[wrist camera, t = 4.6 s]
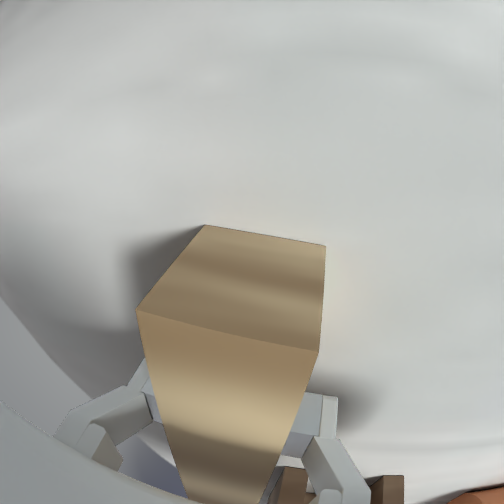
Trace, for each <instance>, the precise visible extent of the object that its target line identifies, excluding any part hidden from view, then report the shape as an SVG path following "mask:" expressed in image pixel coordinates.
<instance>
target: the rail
mask: <svg viewBox="0 0 504 504" xmlns="http://www.w3.org/2000/svg"><path fill="white" fill-rule="evenodd" d="M325 256H326V246H323V245H317V244H312V243H306V242H301V241H295V240H290V239H284V238H278V237H273V236H267V235H262V234H256V233H250V232H244V231H239V230H233V229H227V228H221V227H215V226H209V225H204V226H203V228H202V229H201V230H200V231H199V232H198V233H197V235H196V236H195V237H194V238H193V239H192V241H191V242H190V243H189V244H188V245H187V246H186V248H185V249H184V250H183V251H182V252H181V254H180V255H179V256H178V257H177V258H176V260H175V261H174V262H173V263H172V264H171V266H170V267H169V268H168V269H167V270H166V272H165V273H164V274H163V275H162V277H161V278H160V279H159V280H158V281H157V283H156V284H155V285H154V286H153V288H152V289H151V290H150V291H149V293H148V294H147V295H146V296H145V298H144V299H143V300H142V301H141V303H140V304H139V305H138V306H137V308H136V309H135V310H136V315H137V321H138V326H139V331H140V336H141V340H142V345H143V350H144V354H145V359H146V363H147V367H148V371H149V375H150V379H151V383H152V387H153V391H154V395H155V399H156V402H157V406H158V409H159V413H160V416H161V420H162V423H163V427H164V430H165V433H166V436H167V440H168V443H169V446H170V449H171V452H172V455H173V458H174V461H175V464H176V467H177V469H178V472H179V475H180V478H181V480H182V483H183V486H184V489H185V491H186V494H187V496H188V499H189V500H193V501H196V502H199V503H203V504H258V503H259V501H260V499H261V497H262V495H263V492H264V490H265V488H266V486H267V484H268V482H269V479H270V477H271V475H272V473H273V470H274V468H275V466H276V463H277V461H278V459H279V456H280V454H281V452H282V449H283V447H284V445H285V442H286V440H287V437H288V435H289V432H290V430H291V427H292V425H293V422H294V420H295V417H296V414H297V412H298V409H299V406H300V404H301V401H302V398H303V396H304V393H305V390H306V387H307V385H308V382H309V379H310V376H311V373H312V370H313V368H314V365H315V362H316V359H317V356H318V353H319V344H320V333H321V321H322V308H323V293H324V276H325Z"/></svg>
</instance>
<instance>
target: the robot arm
mask: <svg viewBox="0 0 504 504" xmlns="http://www.w3.org/2000/svg"><path fill="white" fill-rule="evenodd" d="M337 412H338V398H337V397H334V396H326V395H322V394H315V393H309V392H305V393H304V396H303V398H302V401H301V404H300V406H299V409H298V412H297V414H296V417H295V420H294V422H293V425H292V427H291V430H290V432H289V435H288V437H287V440H286V442H285V445H284V447H283V449H282V452H281V455H286V456H291V457H297V458H302V459H301V460H302V463H303V465H304V467H305V470H306V472H307V474H308V477H309V479H310V481H311V484H312V486H313V488H314V491H315V493H316V495H317V496H316V497H315V498H314V499H313V500H312V501H311V502H310V503H309V504H370V500H371V490H370V488H369V487H368V485H367V484H366V482H365V480H364V479H363V477H362V475H361V474H360V472H359V470H358V469H357V467H356V466H355V464H354V462H353V461H352V459H351V457H350V456H349V454H348V452H347V451H346V449H345V447H344V446H343V444H342V442H341V441H340V439H336V426H337ZM152 420H153V421H156V422H159V423H162V420H161V416H160V413H159V409H158V406H157V402H156V399H155V395H154V391H153V387H152V383H151V379H150V375H149V371H148V367H147V363H146V359H145V358H144V359H143V361H142V362H141V364H140V365H139V367H138V369H137V370H136V372H135V373H134V375H133V377H132V378H131V380H130V381H129V383H128V385H127V386H124V385H122V386H120V387H118V388H116V389H114V390H112V391H110V392H108V393H106V394H104V395H102V396H99V397H97V398H95V399H93V400H91V401H89V402H87V403H85V404H82V405H80V406H78V407H76V408H74V409H71V410H70V412H69V413H68V414H67V416H66V417H65V419H64V420H63V422H62V423H61V425H60V426H59V428H58V429H57V431H56V432H55V434H54V435H53V437H52V436H50V435H49V434H47V433H46V432H44V431H43V430H41V429H40V428H38V427H37V426H35V425H34V424H32V423H31V422H29V421H28V420H26V419H25V418H24V417H22V416H21V415H20V414H18V413H17V412H15V411H14V410H13V409H11V408H10V407H9V406H7V405H6V404H5V403H4V402H2V401H1V400H0V504H203V503H199V502H196V501H193V500H189V499H186V498H183V497H180V496H177V495H174V494H171V493H168V492H166V491H163V490H160V489H158V488H155V487H152V486H149V485H147V484H145V483H142V482H140V481H137V480H135V479H133V478H130V477H128V476H126V475H124V474H121V473H119V472H118V470H119V468H120V466H121V464H122V462H123V458H122V456H121V454H120V453H119V451H118V450H117V448H116V445H118V444H120V443H121V442H123V441H124V440H126V439H127V438H129V437H131V436H132V435H134V434H135V433H137V432H138V431H140V430H141V429H143V428H144V427H146V426H147V425H149V424H150V423H152V422H153V421H152ZM162 424H163V423H162Z"/></svg>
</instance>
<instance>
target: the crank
mask: <svg viewBox="0 0 504 504" xmlns="http://www.w3.org/2000/svg"><path fill="white" fill-rule="evenodd" d="M447 504H504V487H499V488H494V489H489V490H483V491H476V492H469V493H464V494H462V495H460V496H459V497H457V498H455V499H453V500H451V501H450V502H448V503H447Z"/></svg>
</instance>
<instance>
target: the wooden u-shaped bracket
mask: <svg viewBox="0 0 504 504" xmlns="http://www.w3.org/2000/svg"><path fill="white" fill-rule="evenodd" d="M307 481H308V474H307V472H306V470H305V469H298V468H291V467H285V468H284V470H283V472H282V474H281V476H280V478H279V480H278V482H277V484H276V485H275V487H274V489H273V491H272V493H271V495H270V496H269V499H268V503H267V504H309V503H310V502H311V501H312V500H313V499H314V498H315V497H316V496H317V495H316V494H312V493H305V492H306V487H307ZM369 488H370V490H371V500H370V504H404V476H383V477H382V478H380V479H379V480H378V481H377V482H376V483H374V484H373V485H372V486H371V487H369Z"/></svg>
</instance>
